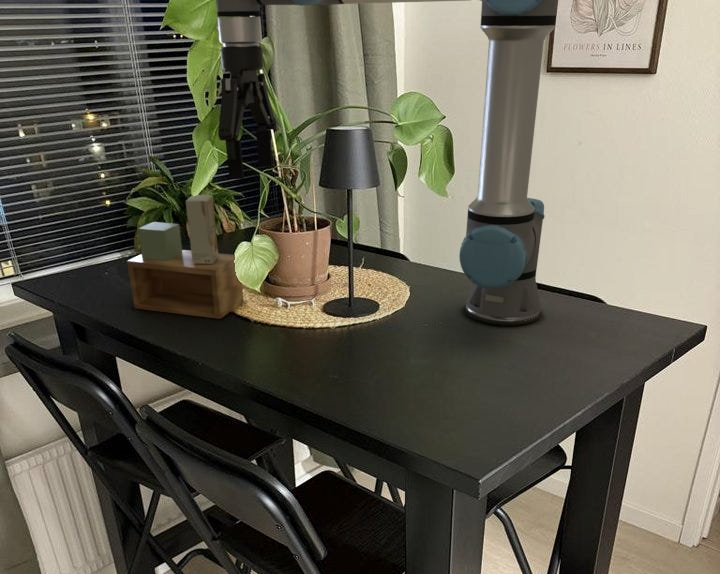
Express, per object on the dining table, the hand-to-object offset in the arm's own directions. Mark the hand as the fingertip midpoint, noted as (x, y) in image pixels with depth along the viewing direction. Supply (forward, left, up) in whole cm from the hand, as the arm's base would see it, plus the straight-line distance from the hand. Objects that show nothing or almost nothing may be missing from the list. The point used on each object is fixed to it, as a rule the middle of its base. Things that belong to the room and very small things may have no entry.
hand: (251, 172), depth 146 cm
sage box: (+4, -20, -17) cm, 26 cm away
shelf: (+4, -15, -27) cm, 31 cm away
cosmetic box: (+4, -10, -17) cm, 20 cm away
